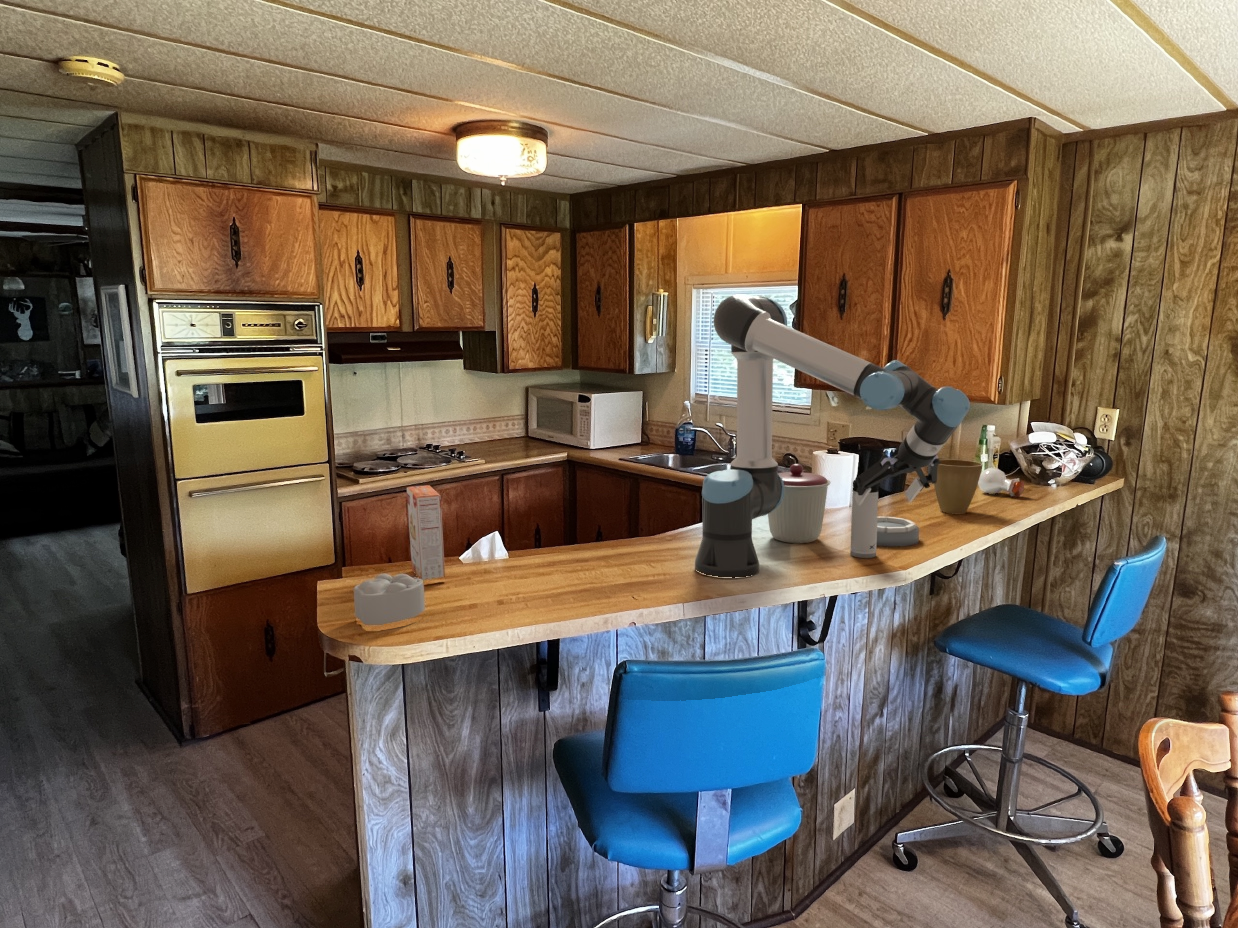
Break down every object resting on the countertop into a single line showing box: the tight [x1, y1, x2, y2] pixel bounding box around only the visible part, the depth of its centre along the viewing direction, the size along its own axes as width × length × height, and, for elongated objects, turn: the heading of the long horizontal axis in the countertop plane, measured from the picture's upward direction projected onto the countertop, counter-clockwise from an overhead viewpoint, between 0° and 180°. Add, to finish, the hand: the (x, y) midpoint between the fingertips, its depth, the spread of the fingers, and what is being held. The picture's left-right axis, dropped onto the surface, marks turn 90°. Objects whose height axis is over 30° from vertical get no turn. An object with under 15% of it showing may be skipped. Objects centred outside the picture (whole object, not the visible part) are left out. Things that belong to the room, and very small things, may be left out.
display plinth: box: [876, 516, 920, 548], centre depth 211 cm, size 17×17×5 cm
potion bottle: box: [977, 467, 1025, 498], centre depth 271 cm, size 9×10×15 cm
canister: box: [767, 463, 831, 544], centre depth 211 cm, size 18×18×21 cm
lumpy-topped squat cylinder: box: [353, 573, 426, 625], centre depth 152 cm, size 10×13×9 cm
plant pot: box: [933, 459, 984, 515], centre depth 244 cm, size 15×15×16 cm
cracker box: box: [406, 484, 446, 580], centre depth 180 cm, size 14×6×21 cm, turn 23°
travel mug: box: [850, 479, 879, 559], centre depth 194 cm, size 6×7×20 cm
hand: (882, 499), depth 187 cm, fingers open, 13 cm apart
